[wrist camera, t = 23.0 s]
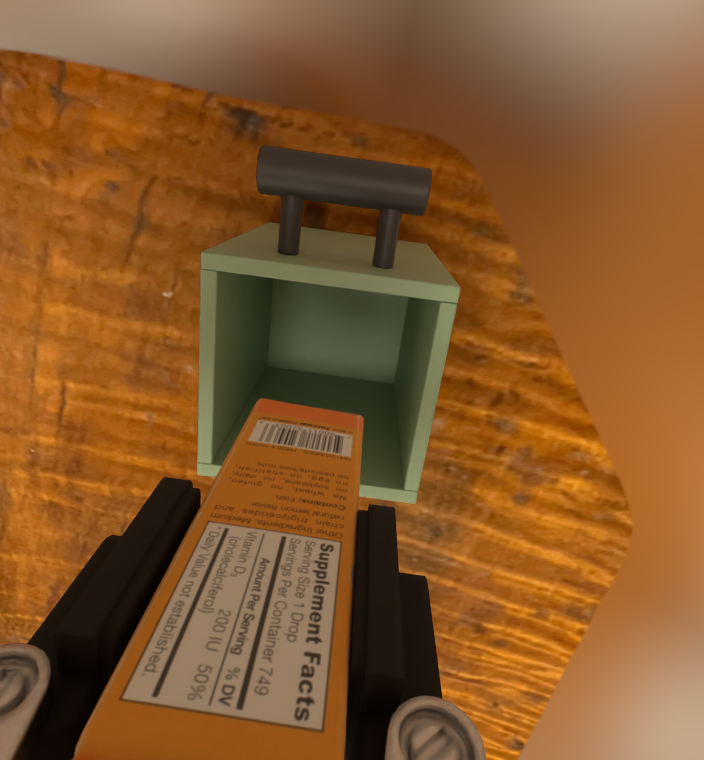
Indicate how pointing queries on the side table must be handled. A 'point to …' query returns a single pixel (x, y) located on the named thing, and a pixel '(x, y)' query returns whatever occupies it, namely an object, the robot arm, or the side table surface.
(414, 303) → the bin
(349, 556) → the supplement box
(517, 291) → the side table surface
